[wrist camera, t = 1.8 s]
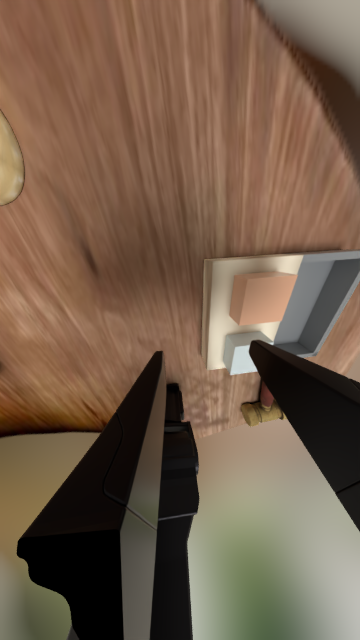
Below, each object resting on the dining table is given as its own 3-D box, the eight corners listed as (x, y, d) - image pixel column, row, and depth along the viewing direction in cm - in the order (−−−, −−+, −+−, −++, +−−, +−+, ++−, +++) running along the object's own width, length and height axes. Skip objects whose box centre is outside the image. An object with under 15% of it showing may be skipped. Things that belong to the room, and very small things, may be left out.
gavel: (256, 366, 23) (311, 355, 23) (242, 350, 27) (289, 341, 27) (250, 430, 32) (289, 422, 32) (240, 411, 36) (275, 403, 36)
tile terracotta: (229, 315, 17) (238, 325, 14) (234, 274, 14) (247, 279, 12) (266, 311, 17) (281, 321, 15) (277, 271, 15) (298, 274, 12)
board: (201, 354, 24) (206, 370, 21) (203, 259, 16) (213, 261, 13) (253, 348, 25) (265, 362, 22) (278, 254, 17) (303, 254, 14)
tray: (253, 348, 25) (265, 362, 22) (278, 254, 17) (303, 254, 14) (297, 343, 25) (315, 356, 22) (340, 249, 18) (378, 249, 15)
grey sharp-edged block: (222, 361, 20) (230, 374, 18) (226, 335, 18) (235, 346, 16) (253, 357, 21) (264, 370, 18) (260, 331, 18) (274, 342, 16)
